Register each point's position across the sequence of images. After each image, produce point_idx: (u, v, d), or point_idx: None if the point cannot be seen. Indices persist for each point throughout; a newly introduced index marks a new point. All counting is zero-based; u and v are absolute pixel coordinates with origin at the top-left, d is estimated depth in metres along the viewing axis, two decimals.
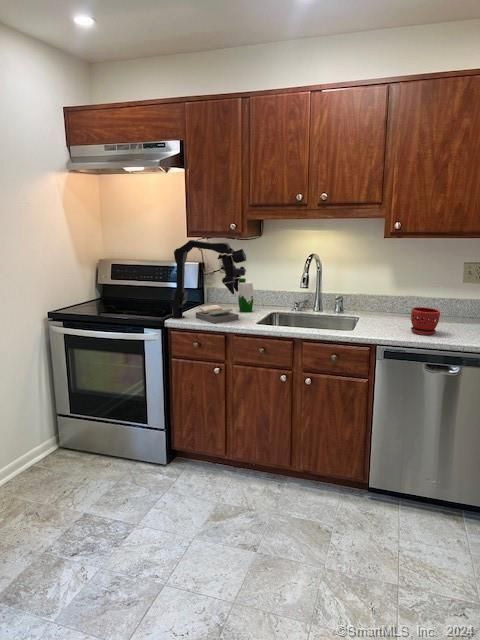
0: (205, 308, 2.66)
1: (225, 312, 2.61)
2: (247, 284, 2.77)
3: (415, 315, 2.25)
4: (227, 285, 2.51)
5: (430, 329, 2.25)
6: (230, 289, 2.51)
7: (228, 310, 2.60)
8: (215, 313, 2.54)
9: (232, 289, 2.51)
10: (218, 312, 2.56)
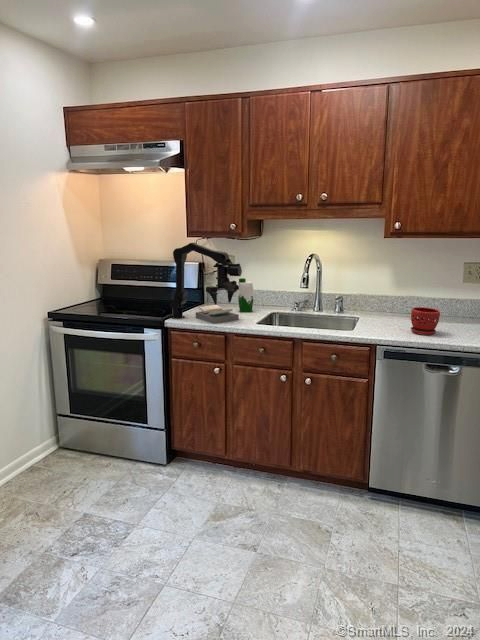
0: (205, 308, 2.66)
1: (225, 312, 2.61)
2: (247, 284, 2.77)
3: (415, 315, 2.25)
4: (211, 294, 2.54)
5: (430, 329, 2.25)
6: (213, 299, 2.54)
7: (228, 310, 2.60)
8: (215, 313, 2.54)
9: (214, 300, 2.53)
10: (218, 312, 2.56)
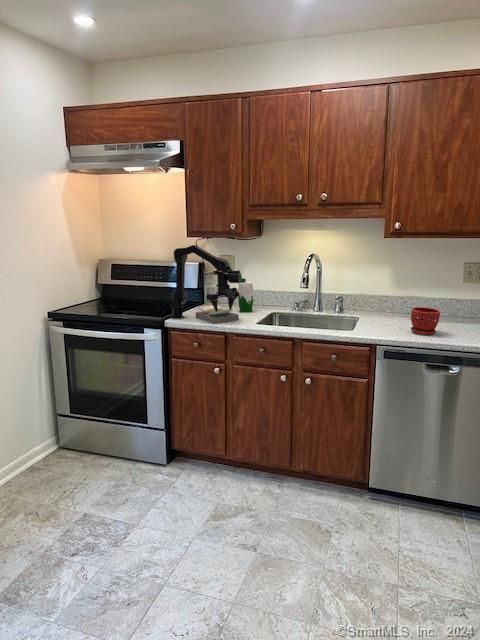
0: (205, 308, 2.66)
1: (225, 312, 2.61)
2: (247, 284, 2.77)
3: (415, 315, 2.25)
4: (212, 302, 2.54)
5: (430, 329, 2.25)
6: (214, 306, 2.54)
7: (228, 310, 2.60)
8: (215, 313, 2.54)
9: (215, 307, 2.54)
10: (218, 312, 2.56)
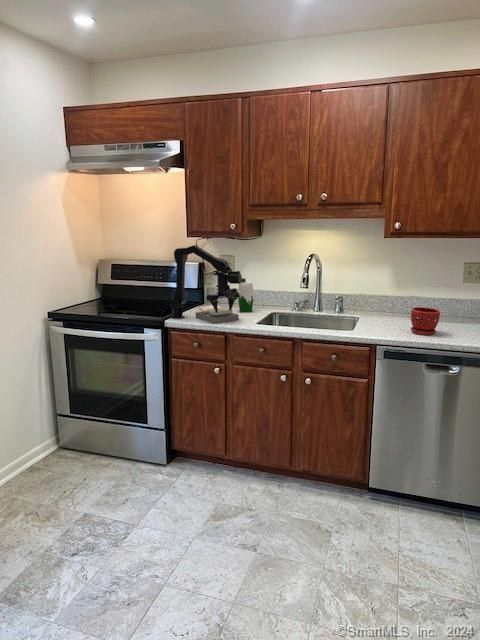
0: (205, 308, 2.66)
1: None
2: (247, 284, 2.77)
3: (415, 315, 2.25)
4: (212, 302, 2.54)
5: (430, 329, 2.25)
6: (214, 307, 2.54)
7: (228, 312, 2.60)
8: None
9: (215, 307, 2.54)
10: (218, 314, 2.56)
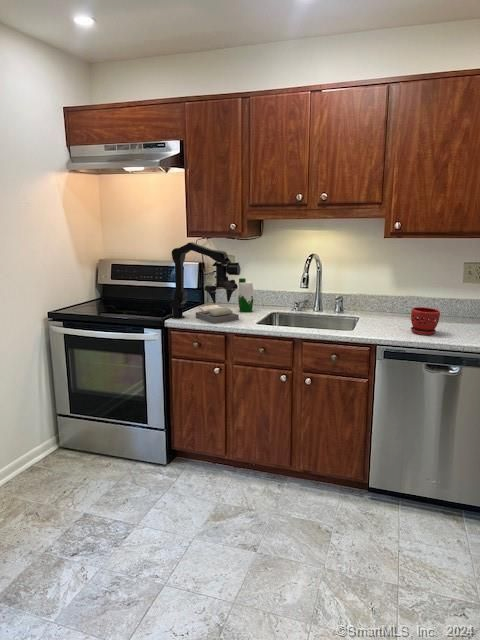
0: (205, 308, 2.66)
1: None
2: (247, 284, 2.77)
3: (415, 315, 2.25)
4: (210, 293, 2.54)
5: (430, 329, 2.25)
6: (212, 298, 2.55)
7: (228, 312, 2.60)
8: (215, 315, 2.55)
9: (213, 298, 2.54)
10: (218, 314, 2.56)
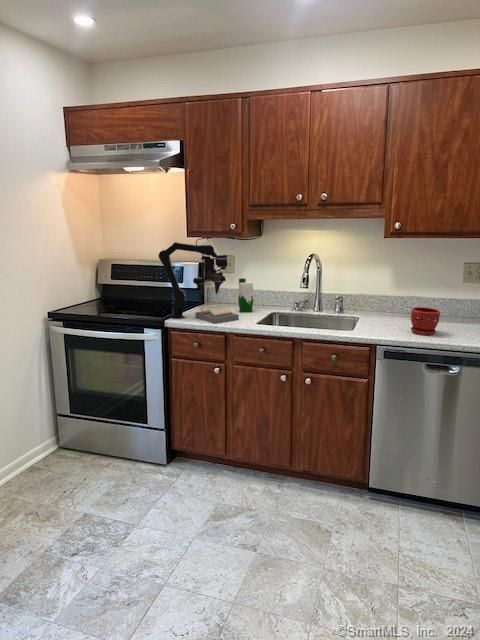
0: (205, 308, 2.66)
1: None
2: (247, 284, 2.77)
3: (415, 315, 2.25)
4: (198, 285, 2.63)
5: (430, 329, 2.25)
6: (200, 290, 2.63)
7: (228, 313, 2.60)
8: None
9: (201, 290, 2.63)
10: (218, 315, 2.56)
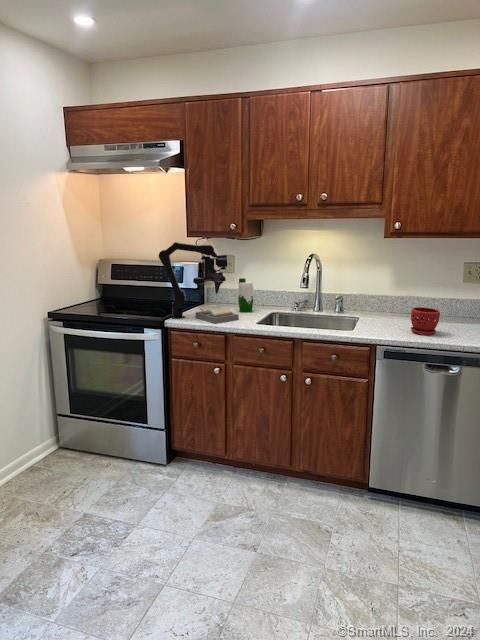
0: (205, 308, 2.66)
1: None
2: (247, 284, 2.77)
3: (415, 315, 2.25)
4: (198, 285, 2.63)
5: (430, 329, 2.25)
6: (200, 290, 2.63)
7: (228, 313, 2.60)
8: (215, 316, 2.55)
9: (201, 290, 2.63)
10: (218, 315, 2.56)
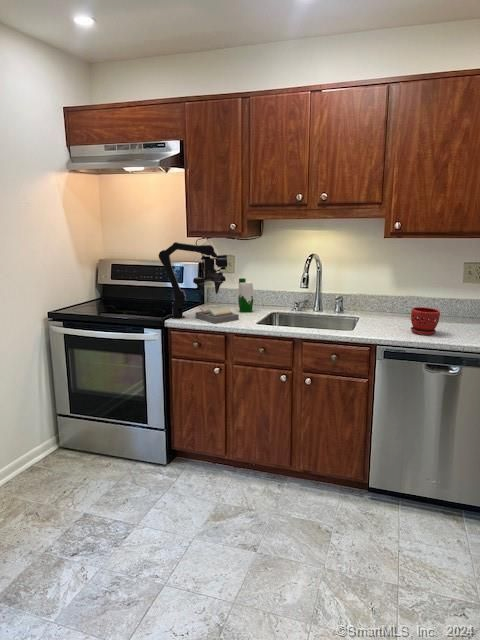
0: (205, 308, 2.66)
1: None
2: (247, 284, 2.77)
3: (415, 315, 2.25)
4: (198, 285, 2.63)
5: (430, 329, 2.25)
6: (200, 290, 2.63)
7: (228, 313, 2.60)
8: (215, 316, 2.55)
9: (201, 290, 2.63)
10: (218, 315, 2.56)
